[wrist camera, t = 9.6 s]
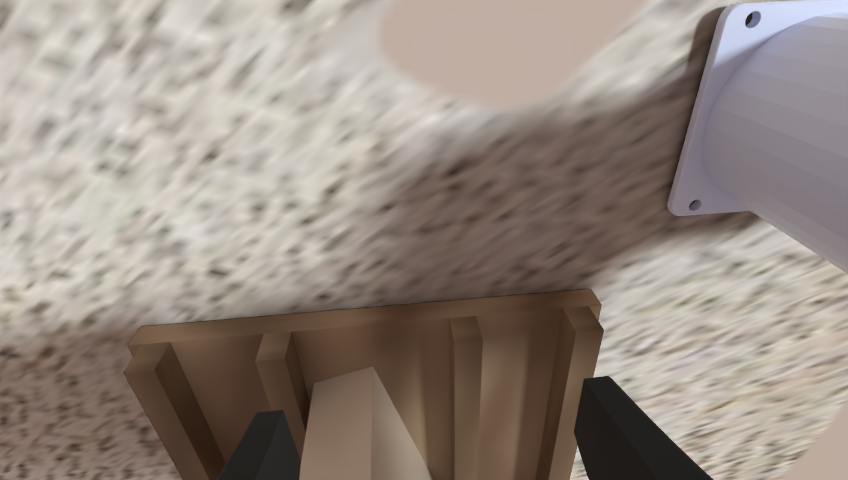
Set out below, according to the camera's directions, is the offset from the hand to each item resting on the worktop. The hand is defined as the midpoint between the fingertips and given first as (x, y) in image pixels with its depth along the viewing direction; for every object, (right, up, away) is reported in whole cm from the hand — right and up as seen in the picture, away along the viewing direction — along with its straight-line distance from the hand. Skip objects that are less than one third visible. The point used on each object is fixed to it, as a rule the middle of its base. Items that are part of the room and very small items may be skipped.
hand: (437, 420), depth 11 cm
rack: (-2, -6, +15) cm, 16 cm away
